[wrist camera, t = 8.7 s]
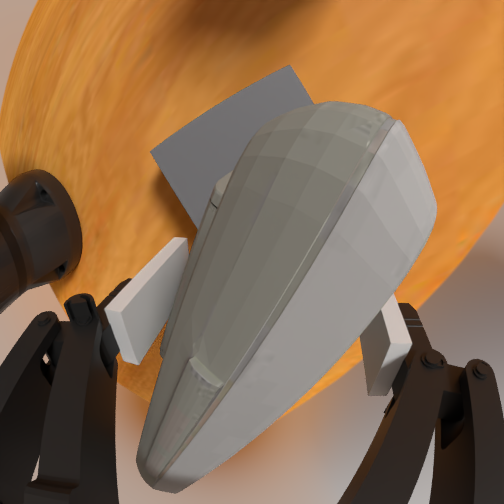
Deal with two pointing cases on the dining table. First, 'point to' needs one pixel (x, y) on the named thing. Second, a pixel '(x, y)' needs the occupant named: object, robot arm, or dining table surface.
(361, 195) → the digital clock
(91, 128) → the dining table surface
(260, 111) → the charcoal block
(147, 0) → the dining table surface
